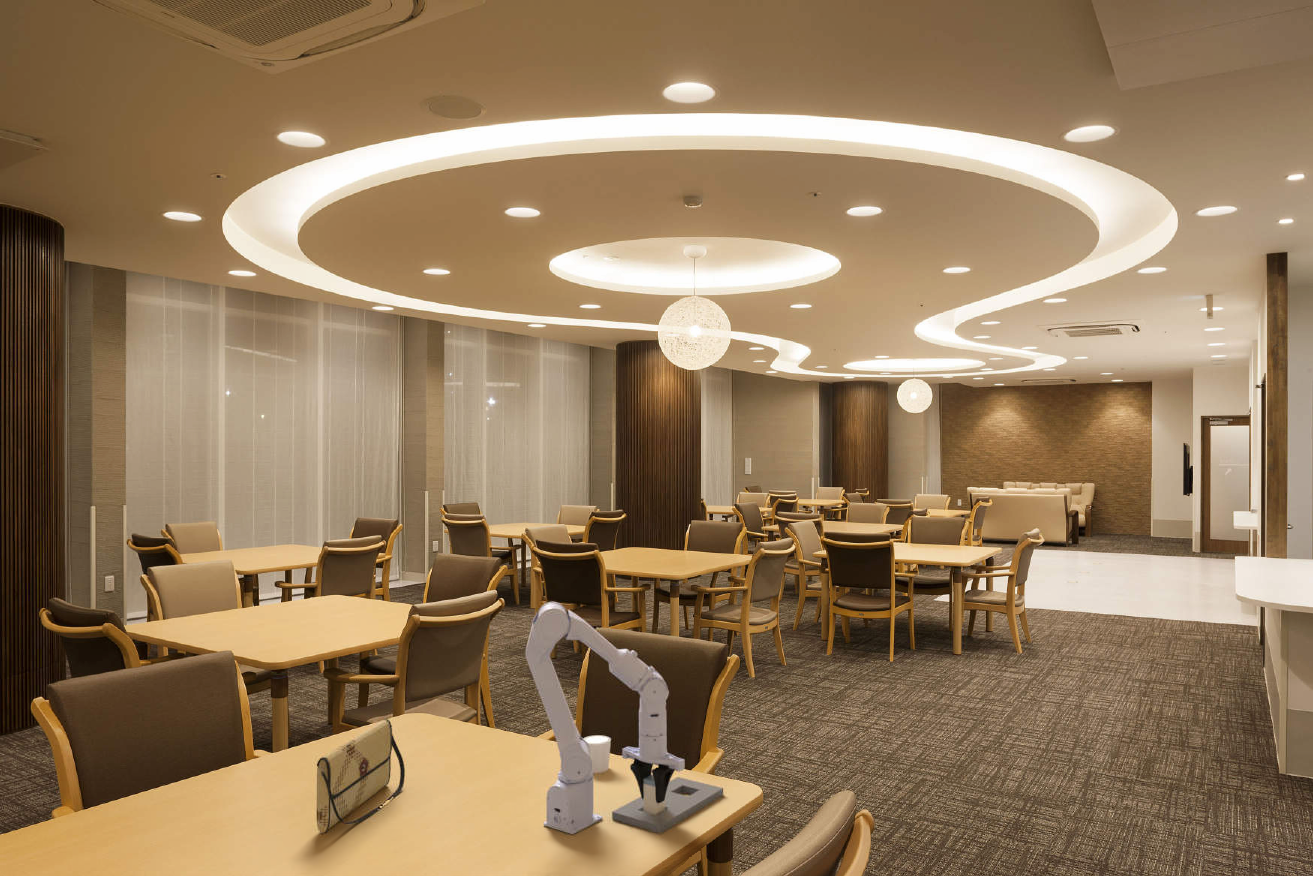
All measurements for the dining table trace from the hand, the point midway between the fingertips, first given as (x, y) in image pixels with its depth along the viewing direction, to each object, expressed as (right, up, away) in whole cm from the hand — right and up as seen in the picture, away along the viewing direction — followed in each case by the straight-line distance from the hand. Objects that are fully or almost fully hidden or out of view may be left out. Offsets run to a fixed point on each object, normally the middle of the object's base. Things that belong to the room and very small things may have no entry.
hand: (653, 799), depth 172 cm
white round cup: (-14, -5, +28) cm, 32 cm away
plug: (0, -3, 0) cm, 3 cm away
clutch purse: (-61, -4, +5) cm, 61 cm away
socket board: (+3, -4, +5) cm, 7 cm away
